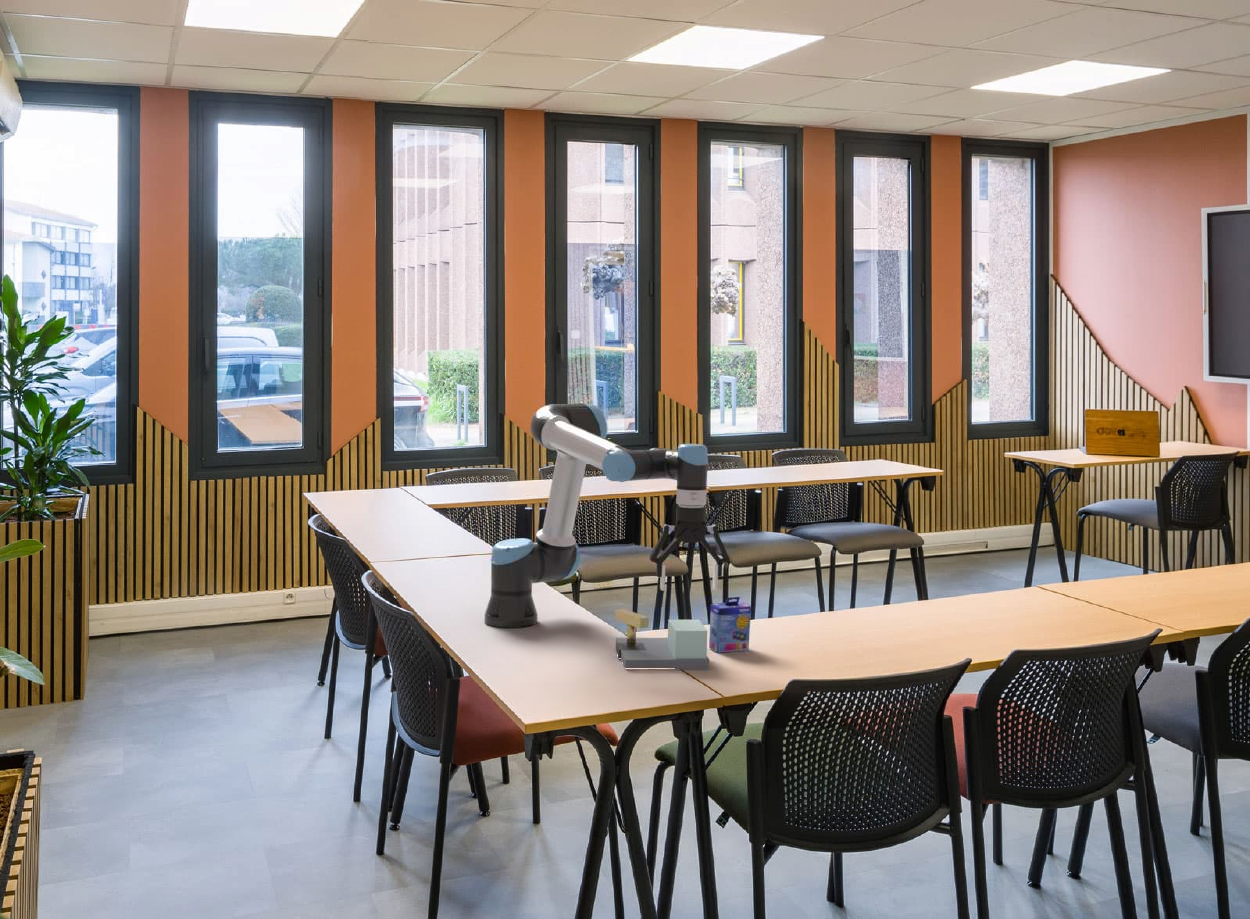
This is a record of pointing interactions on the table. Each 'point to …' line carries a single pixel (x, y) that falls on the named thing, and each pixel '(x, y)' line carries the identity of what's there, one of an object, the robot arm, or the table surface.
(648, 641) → the panel
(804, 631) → the table surface
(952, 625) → the table surface
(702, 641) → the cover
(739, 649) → the ink cartridge box
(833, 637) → the table surface
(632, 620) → the wooden t-shaped block
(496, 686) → the table surface
